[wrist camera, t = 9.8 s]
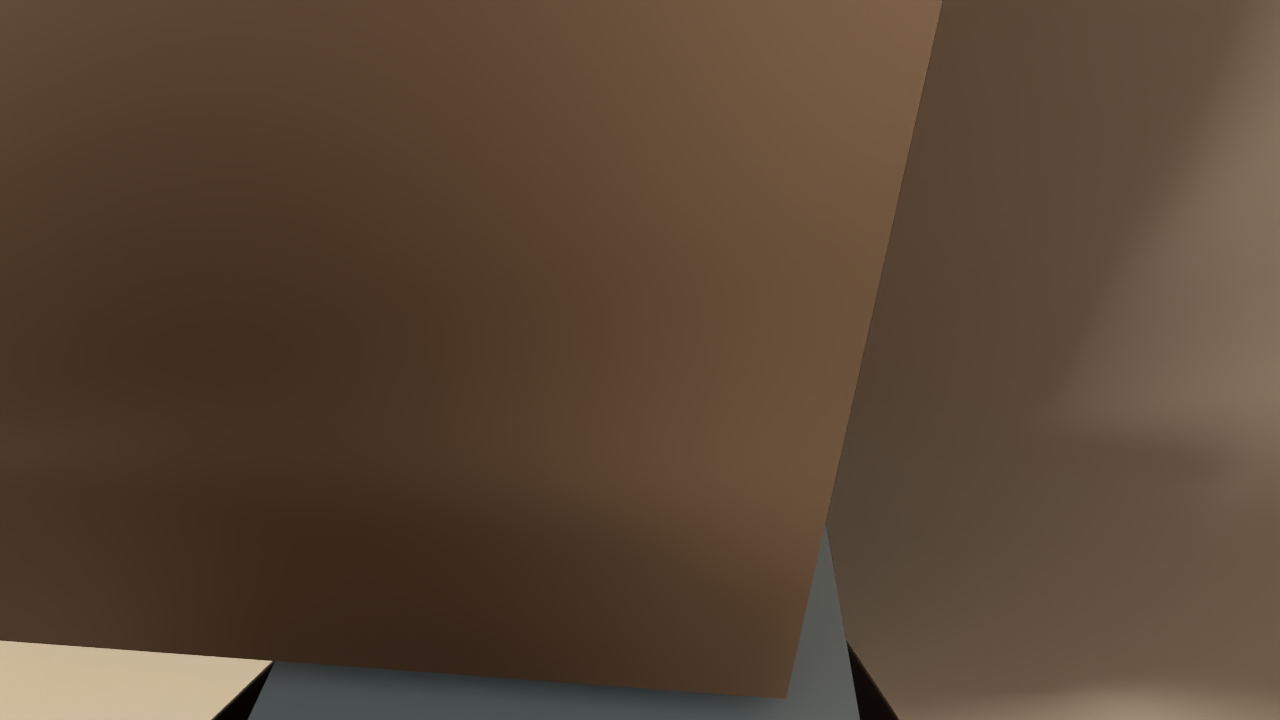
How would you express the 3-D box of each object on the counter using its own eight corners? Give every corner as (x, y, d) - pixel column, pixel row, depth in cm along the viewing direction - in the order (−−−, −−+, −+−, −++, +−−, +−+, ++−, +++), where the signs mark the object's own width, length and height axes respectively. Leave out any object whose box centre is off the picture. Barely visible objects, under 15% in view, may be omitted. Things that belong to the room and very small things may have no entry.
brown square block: (143, 345, 9) (-127, 630, 6) (-101, -477, 6) (-978, -741, 3) (755, 387, 9) (786, 700, 6) (876, -420, 5) (1083, -626, 3)
